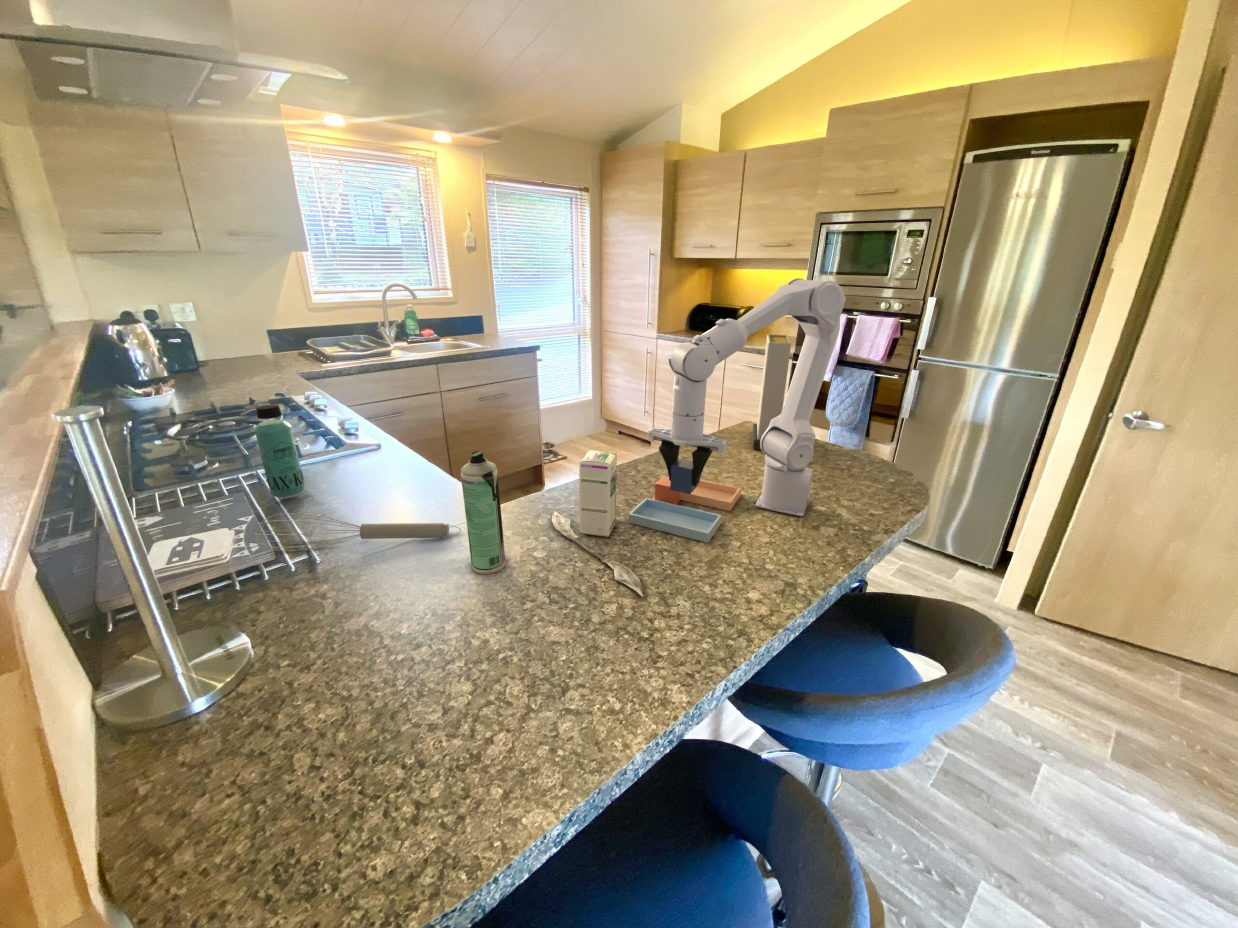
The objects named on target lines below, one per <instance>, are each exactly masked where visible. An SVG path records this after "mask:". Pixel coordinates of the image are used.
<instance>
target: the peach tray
mask: <svg viewBox="0 0 1238 928" xmlns="http://www.w3.org/2000/svg"><path fill="white" fill-rule="evenodd" d="M667 478H669V476H668V477H667ZM741 496H742V487H738V486H734V485H728V484H724V483H719V482H715V481H710V480H705V479H700V481H699V483H698V484H697V487H696V488H695V489H694V491H693V492H692V493H691V494H686V493H682V492H680V501H682V502H683V501H684V502H688V503H692V504H697V505H701V506H705V507H711V508H713V509H718V510H724V511H728V512H731V510H732V509H733V507H735V505H736V503H737V502H738V500H739V499H740V497H741Z"/></svg>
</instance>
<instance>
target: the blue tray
mask: <svg viewBox="0 0 1238 928" xmlns="http://www.w3.org/2000/svg"><path fill="white" fill-rule="evenodd" d="M722 516H723V515H722V514H720V513H719V514H718V513H713V512H709V511H706V510H701V509H696V508H692V507H688V506H685V505H681V504H680V505H679V504H677V505H675V504H671V503H667V502H662V501H658V500H655V498H648V497H645V498H644V499H643V500H642V501H641V502H640V503H638V505H636V506H635V507H634V508H633V509H632V510H631V511H630V512H628V523H629V524H633V525H636V526H639V527H645V528H648V529H653V530H655V531H660V532H664V533H667V534H668V533H669V534H672V535H675V536H680V537H685V538H688V539H692V540H695V541H699V542H702V543H707V544H708V543H709V542H710V541H711V539H712V537H713V536H714V534H716V532H717V530H718V529H719V527H720V526H721V524H722Z"/></svg>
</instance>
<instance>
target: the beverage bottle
mask: <svg viewBox="0 0 1238 928" xmlns="http://www.w3.org/2000/svg"><path fill="white" fill-rule="evenodd" d="M255 410H256V417H257V419H260V420H264V421H261V422H259V423H258V424H257V425H256V426H255V428H254V431H253V432H254V433H255V438H256V442H257V445H258V449H259V453H260V459H261V463H262V468H263V471H264V477H265V478H266V480H265V481H266V484H267V486H268V489H269V493H270V494H271V496H272V497H276V498H285V497H292V496H295V495H298V494H300V493H302V492H304V490H305V487H306V484H305V482H306V481H305V478H304V473H303V470H302V467H301V461H300V457H299V455H298V451H297V449H298V447H297V446H296V443H295V439H294V435H293V431H292V425H291V424H290V423H289V422H287V421H286V420H283V419H275V418H278V417H281V416H283V412H282V410H281V407H280V405H279V404H277V403H276V404H275V403H270V404H262V405H259V406H257V407H255Z"/></svg>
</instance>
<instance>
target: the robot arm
mask: <svg viewBox="0 0 1238 928" xmlns="http://www.w3.org/2000/svg"><path fill="white" fill-rule="evenodd" d="M846 301H847V297H846V295H845V294H844V291H843V290H842V287H841V286H840V285H839V283H837V282H836V281H834V280H814V279H804V278H799V277H798V278H793V279H791V280H789V281H788V282H787V283H785V284H782V285H780V286H779V287H778V288H777V290H776V291H775V292H774V293H772V294H771V295H770V296H768V297H767V298H766V299H764V300H763V301H762V302H760V303H759V304H757V305H756V306H755V307H753V308H752V309H751V310H749V311H748V312H746V313H745V314H744V315H742V316H741V317H739V318H738V319H737V320H736V319H734V318H726V319H723V318H720V319H718V320H717V321H715V326H713V327H712V328H711V329H708V330H707V331H706V332H704V333H702V334H701V335H700V334H696V335H695V336H693V340H692V342H686V341H685V342H681V343H679V344H678V345H677V346H676V347H675V348H674V350H673V351H672V353H671V356H670V357H669V358H668V359H667V360H668V366H669V368H670V370H671V371H672V373H673V388H672V389H673V390H672V410H671V411H672V412H671V428H657V427H652V428H651V429H649V430H648V432H647V435H648V437H647V439H648V441H650V442H655V441H658V442H661V443H660V445H659V446H658V452H659V453H660V455H661V457H662V459H663V461H664V464H665V466H666V470H667V474H668V477H669V480H670V481H671V466H672V465H673V464H674V463H675V462H676V461H677V460H678V459H679V454H680V449H681V447H684V446H686V447H692V448H696V449H695V450H694V451H692V453H691V457H692V461H693V476H692V486H696V485H697V484H698V483H699V481H700V480H701V476H702V473H703V471H704V468H705V466H706V464H707V462H708V460H709V458H710V456H711V455H712V453H713V452H717V453H718V454H721V455H723V454H725V453H726V451H727V448H728V447H727V445H728V439H722V438H719V437H715V436H712V435H709V434H706V433H704V424H705V409H706V397H707V384H708V383H707V382H708V379H709V378H710V377H711V376H712V374H713V373H714V371H715V368H716V366H717V365H718V364H720V363H721V362H723V361H724V360H727V359H728V358H729V357H731V356H732V355H735V353H737V352H738V351H740V350H742V349H743V348H745V346H746V344H747V339H748V337H750V336H752V335H753V334H756V333H757V332H759V331H761V330H763V329H764V328H766V327H767V326H769V325H771V324H773V323H774V322H776V321H778V320H780V319H781V318H783V317H785V316H789V317H792V319H794V320H795V321H796V322H797V323H799V325H800V327H801V329H802V331H803V332H804V334H805V337H804V340H803V343H802V346H801V350H800V353H799V357H798V358H797V359H798V360H797V362H796V365H795V368H794V371H793V375H792V378H791V381H790V384H789V388H788V391H787V394H786V397H785V399H784V402H783V409H782V413H781V414H780V415H779V416H777V417H776V418H774V419H772V420H771V421H770V424H769V427H768V429H767V430H766V431H765V433H764V434H763V436H762V438H761V441H760V448H761V450H760V451H761V452H762V453H763V454H764V457H763V458H764V461H765V464H764V471H763V479H762V488H761V494H760V496H759V497H758V499H757V501H756V503H755V505H754V506H755V507H756V508H760V509H764V510H769V511H774V512H778V513H783V514H786V515H787V514H788V515H792V516H797V517H803V516H804V515H805V512H806V510H807V508H808V505H810V501H811V490H812V484H813V476H814V469H813V468H810V467H807V466H808V465H810V463H811V461H812V459H813V457H814V453H815V450H814V449H815V448H814V445H815V444H814V443H815V440H816V436H817V435H816V433H815V431H814V429H813V427H812V425H811V423H810V420H811V417H812V414H813V411H814V409H815V405H816V403H817V400H818V398H819V397H818V396H819V394H820V392H821V391H820V390H821V389H822V385H823V382H824V379H825V376H826V373H827V369H828V368H829V364H830V361H831V358H832V355H833V352H834V349H835V346H836V344H837V340H838V337H839V333H840V330H841V316H842V313H843V310H844V307H845V303H846Z"/></svg>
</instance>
